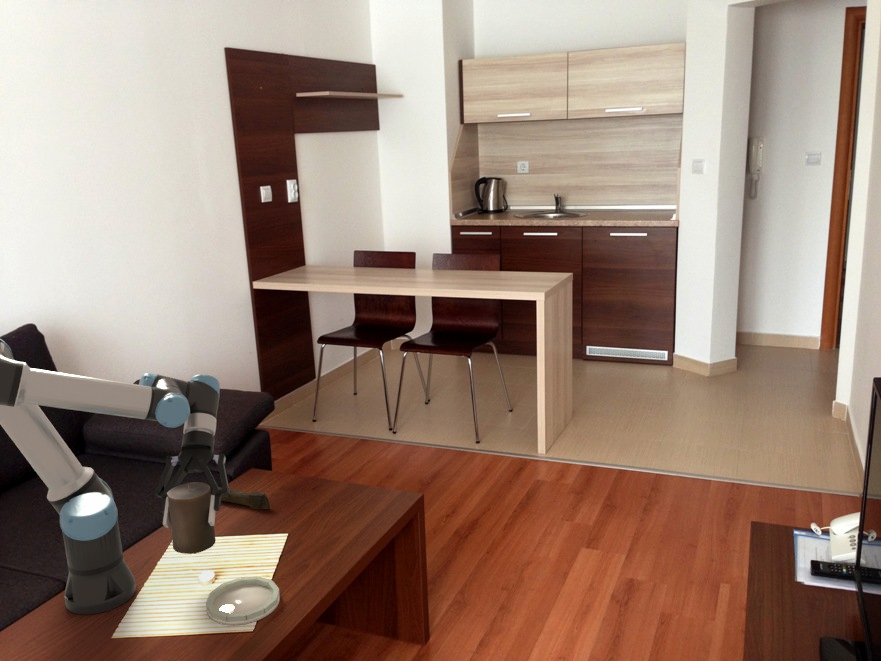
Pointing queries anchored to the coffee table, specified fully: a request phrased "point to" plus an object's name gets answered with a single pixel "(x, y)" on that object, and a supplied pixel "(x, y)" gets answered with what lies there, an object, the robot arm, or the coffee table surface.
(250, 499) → the dark brown bark log
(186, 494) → the pillar candle
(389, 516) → the coffee table surface
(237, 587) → the candle plate
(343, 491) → the coffee table surface
